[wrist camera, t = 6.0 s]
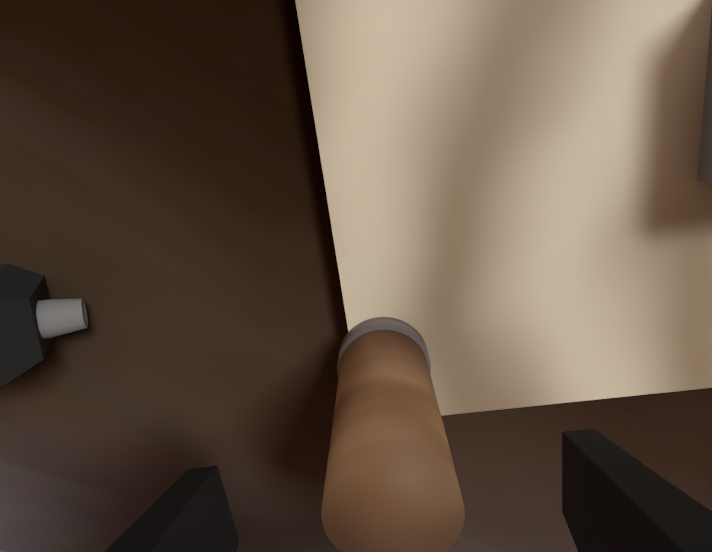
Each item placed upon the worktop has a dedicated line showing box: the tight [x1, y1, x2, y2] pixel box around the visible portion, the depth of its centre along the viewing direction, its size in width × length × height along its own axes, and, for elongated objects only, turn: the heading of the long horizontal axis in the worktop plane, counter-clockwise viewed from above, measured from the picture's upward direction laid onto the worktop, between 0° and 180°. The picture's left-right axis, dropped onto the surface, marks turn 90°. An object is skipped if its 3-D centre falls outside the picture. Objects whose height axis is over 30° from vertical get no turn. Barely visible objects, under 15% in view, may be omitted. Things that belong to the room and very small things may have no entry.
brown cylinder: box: [321, 317, 465, 552], centre depth 12 cm, size 3×3×6 cm
